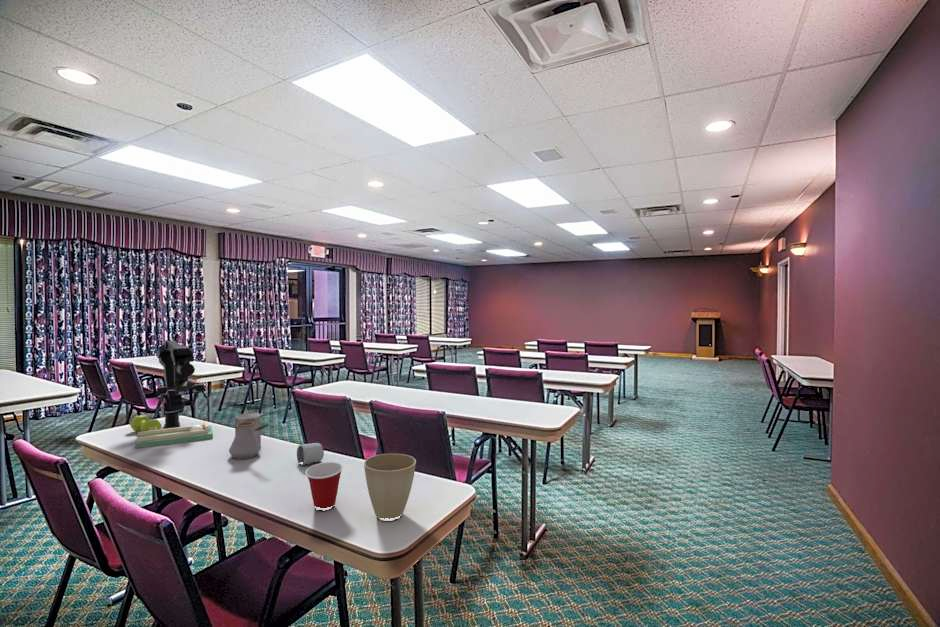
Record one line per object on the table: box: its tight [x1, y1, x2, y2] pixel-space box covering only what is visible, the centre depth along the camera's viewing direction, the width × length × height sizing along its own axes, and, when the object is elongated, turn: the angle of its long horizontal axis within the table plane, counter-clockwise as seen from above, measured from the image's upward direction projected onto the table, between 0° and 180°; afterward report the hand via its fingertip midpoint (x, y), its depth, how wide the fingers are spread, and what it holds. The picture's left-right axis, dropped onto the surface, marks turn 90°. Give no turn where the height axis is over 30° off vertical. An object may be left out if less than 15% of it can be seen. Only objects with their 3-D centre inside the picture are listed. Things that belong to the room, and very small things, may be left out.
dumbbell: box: [129, 414, 162, 433], centre depth 210 cm, size 16×8×7 cm, turn 54°
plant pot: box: [363, 453, 417, 519], centre depth 131 cm, size 15×15×16 cm
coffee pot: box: [228, 422, 270, 460], centre depth 178 cm, size 21×12×15 cm, turn 58°
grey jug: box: [234, 412, 262, 446], centre depth 191 cm, size 10×10×15 cm
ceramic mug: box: [296, 442, 325, 466], centre depth 175 cm, size 11×8×8 cm
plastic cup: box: [304, 461, 344, 508], centre depth 136 cm, size 11×11×12 cm
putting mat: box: [135, 420, 214, 449], centre depth 202 cm, size 16×28×5 cm, turn 122°
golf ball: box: [190, 424, 203, 431], centre depth 206 cm, size 5×5×5 cm
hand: (181, 407), depth 211 cm, fingers open, 9 cm apart
